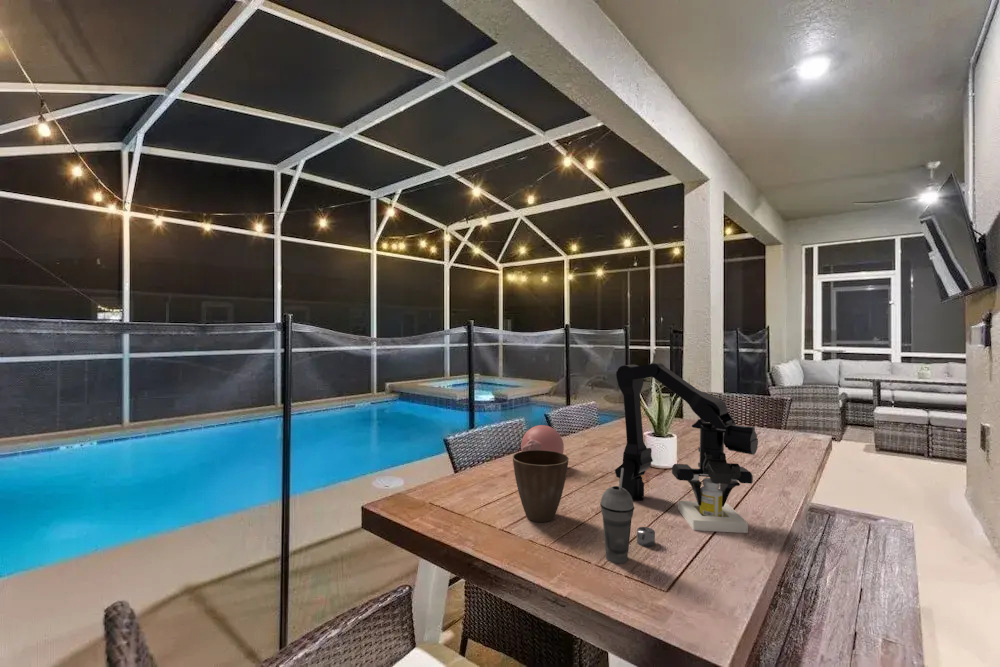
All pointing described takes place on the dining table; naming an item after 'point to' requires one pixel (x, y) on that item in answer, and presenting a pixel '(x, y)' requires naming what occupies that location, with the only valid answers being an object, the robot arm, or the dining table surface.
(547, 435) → the balloon
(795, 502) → the dining table surface
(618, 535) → the beverage cup
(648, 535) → the short metal stub
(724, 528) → the hole plate
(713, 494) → the supplement bottle
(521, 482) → the plant pot
